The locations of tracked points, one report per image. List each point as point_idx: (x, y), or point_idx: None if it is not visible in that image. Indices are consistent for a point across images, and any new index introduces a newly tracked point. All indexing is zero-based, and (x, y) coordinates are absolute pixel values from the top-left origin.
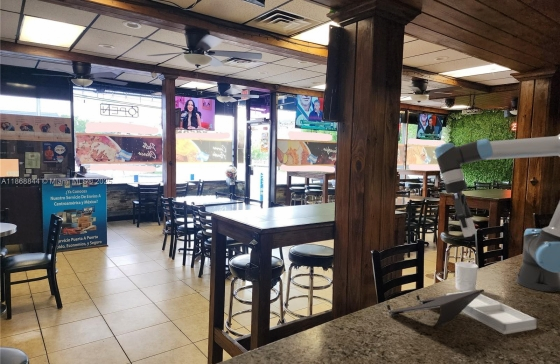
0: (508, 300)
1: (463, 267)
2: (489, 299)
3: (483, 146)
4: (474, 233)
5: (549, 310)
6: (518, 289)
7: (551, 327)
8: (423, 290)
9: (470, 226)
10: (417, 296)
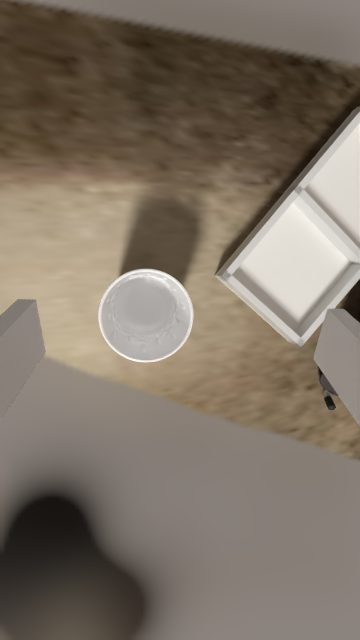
0: (169, 171)
1: (191, 322)
2: (275, 222)
3: None
4: (36, 316)
5: (190, 50)
6: (17, 131)
7: (324, 68)
8: (226, 409)
9: (9, 368)
10: (334, 406)
